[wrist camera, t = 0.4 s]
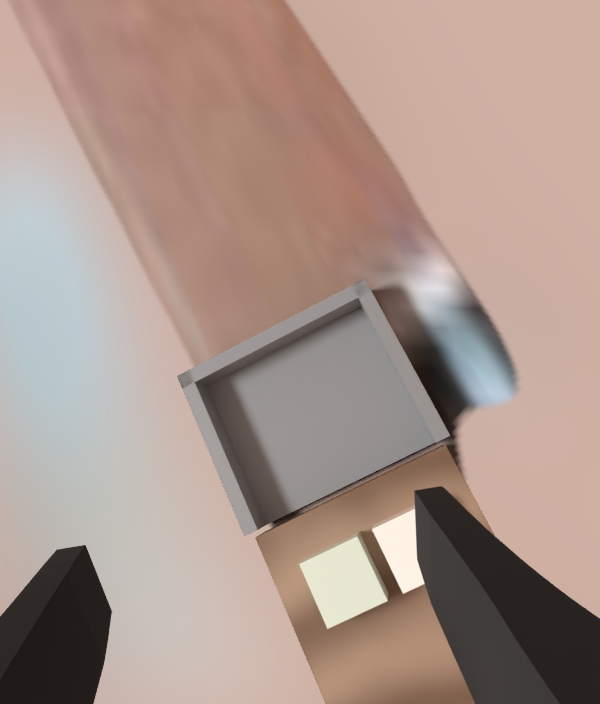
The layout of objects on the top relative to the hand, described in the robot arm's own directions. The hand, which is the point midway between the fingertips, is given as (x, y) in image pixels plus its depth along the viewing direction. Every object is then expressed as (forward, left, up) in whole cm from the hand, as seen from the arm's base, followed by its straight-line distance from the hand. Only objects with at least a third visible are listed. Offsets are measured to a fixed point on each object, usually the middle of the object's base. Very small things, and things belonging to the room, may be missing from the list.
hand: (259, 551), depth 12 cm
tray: (+6, 0, -26) cm, 27 cm away
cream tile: (-5, -2, -24) cm, 24 cm away
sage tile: (-5, +3, -24) cm, 25 cm away
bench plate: (-7, 0, -26) cm, 27 cm away
